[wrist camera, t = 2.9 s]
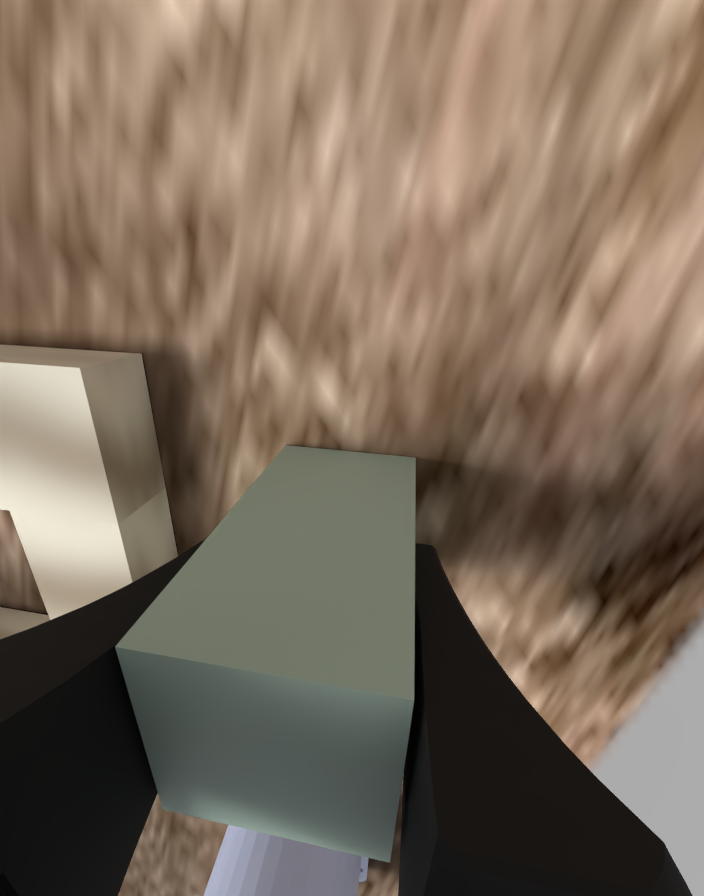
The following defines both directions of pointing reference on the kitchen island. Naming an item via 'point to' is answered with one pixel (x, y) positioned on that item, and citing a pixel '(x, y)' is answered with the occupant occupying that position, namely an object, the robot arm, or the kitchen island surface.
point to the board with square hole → (80, 475)
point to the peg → (289, 656)
